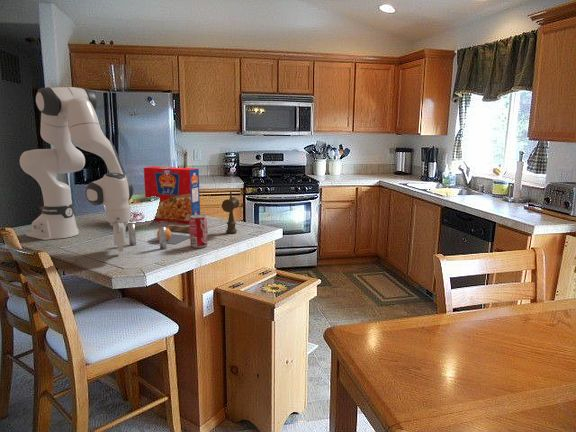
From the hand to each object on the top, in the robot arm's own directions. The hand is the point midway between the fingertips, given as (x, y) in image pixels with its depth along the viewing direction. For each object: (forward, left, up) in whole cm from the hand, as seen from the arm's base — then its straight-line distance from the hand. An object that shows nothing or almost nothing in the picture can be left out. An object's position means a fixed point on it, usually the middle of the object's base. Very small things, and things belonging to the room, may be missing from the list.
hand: (121, 250), depth 165 cm
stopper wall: (+4, +41, -2) cm, 41 cm away
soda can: (+22, +21, -2) cm, 30 cm away
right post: (+10, +13, -2) cm, 17 cm away
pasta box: (-17, +60, -2) cm, 62 cm away
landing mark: (+4, +27, -2) cm, 27 cm away
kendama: (+24, +47, -2) cm, 53 cm away
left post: (-5, +13, -2) cm, 14 cm away
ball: (+3, +23, +1) cm, 23 cm away
